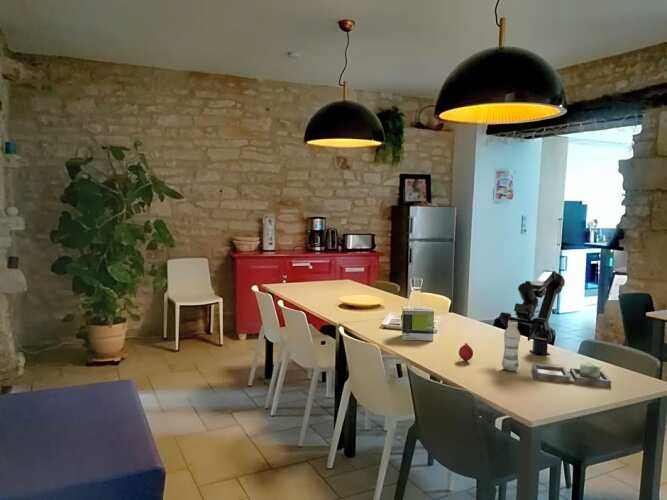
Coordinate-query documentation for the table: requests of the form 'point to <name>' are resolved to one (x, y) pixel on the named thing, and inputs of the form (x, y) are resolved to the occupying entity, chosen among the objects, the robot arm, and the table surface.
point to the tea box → (417, 323)
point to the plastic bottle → (511, 346)
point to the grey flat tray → (573, 374)
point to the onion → (466, 352)
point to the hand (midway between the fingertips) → (516, 338)
